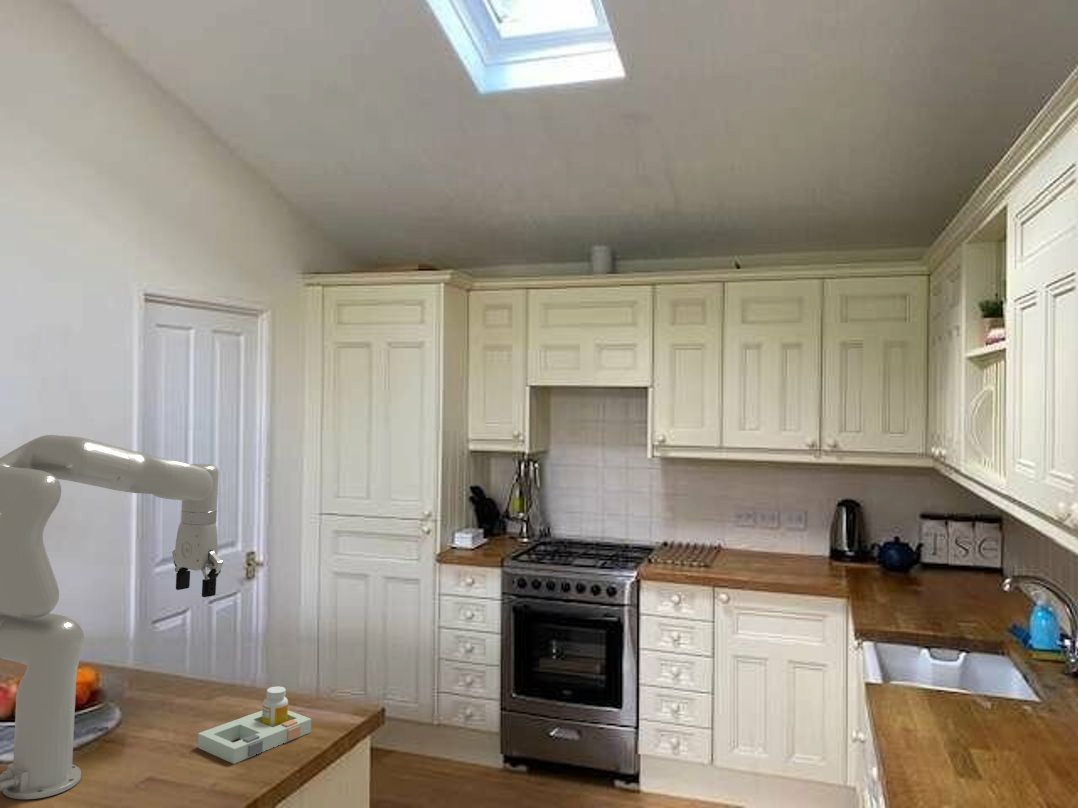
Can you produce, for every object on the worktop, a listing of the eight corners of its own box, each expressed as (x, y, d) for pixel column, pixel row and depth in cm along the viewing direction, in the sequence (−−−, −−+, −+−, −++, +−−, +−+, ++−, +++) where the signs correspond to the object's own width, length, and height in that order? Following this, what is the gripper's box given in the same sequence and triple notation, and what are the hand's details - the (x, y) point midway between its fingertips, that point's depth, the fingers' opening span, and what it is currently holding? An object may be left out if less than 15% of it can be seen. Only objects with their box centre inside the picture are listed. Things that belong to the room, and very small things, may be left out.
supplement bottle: (258, 737, 177) (260, 693, 177) (264, 727, 182) (266, 685, 182) (284, 737, 178) (286, 694, 177) (289, 727, 183) (290, 685, 183)
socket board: (235, 764, 164) (235, 747, 164) (197, 747, 171) (198, 731, 171) (311, 732, 181) (312, 717, 181) (274, 718, 188) (275, 703, 188)
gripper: (161, 515, 188) (158, 588, 188) (207, 524, 179) (204, 602, 179) (190, 512, 194) (187, 583, 195) (237, 521, 185) (233, 596, 185)
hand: (195, 592), depth 187 cm, fingers open, 9 cm apart
